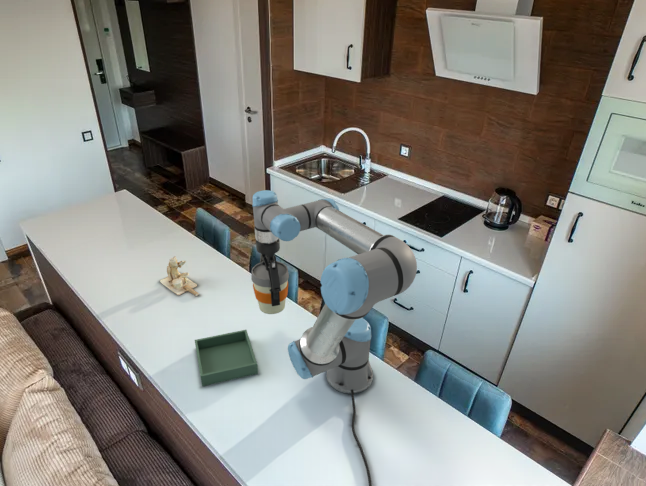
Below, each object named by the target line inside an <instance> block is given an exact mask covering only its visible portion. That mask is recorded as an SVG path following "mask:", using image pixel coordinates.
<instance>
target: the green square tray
mask: <svg viewBox="0 0 646 486" xmlns="http://www.w3.org/2000/svg"><path fill="white" fill-rule="evenodd" d="M251 343H252V342H251V339H250V336H249V333H248V330H247V329H243V330H242V329H241V330H237V331H232V332H227V333H223V334H217V335H211V336H207V337H201V338H198V339H194V345H195V352H196V358H197V364H198V371H199V377H200V382H201V387H206V386H211V385H214V384H220V383H223V382H228V381H232V380H237V379H242V378H246V377H250V376H255V375H258V374H259V370H258V369H259V368H258V362H257V359H256V355H255V352H254V349H253V346H252V344H251Z"/></svg>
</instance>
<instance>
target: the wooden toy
mask: <svg viewBox="0 0 646 486" xmlns="http://www.w3.org/2000/svg"><path fill="white" fill-rule="evenodd" d="M186 263H187V261H186V260H180V261H179V262H178V259H177V256H175V255H174V256H172V257H170V258H169V261H168V264H167V266H166V273H167V276H166V277H164V278H162V279H160V280H159V283H161V284H162V285H163V286H164V287H166V288H168V289H169V290H170V292H172V293H174V294H175V295H176V296H181V295H183V294H184V293H186V292H188V293H191V294H192V295H193V296H194V297H198V296H199V295H200V293H199V292H198V291H197V290H195V289H194V288H197V287H198V285H197V283H196V282H194V281H192V280H191V279H190V278H188V277H189V275H190V273H189V272H182V273H181V272H179V268H180V269H181V268H182V267H183V266H184V265H185V264H186Z"/></svg>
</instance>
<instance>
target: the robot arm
mask: <svg viewBox="0 0 646 486" xmlns="http://www.w3.org/2000/svg"><path fill="white" fill-rule="evenodd" d="M278 203H279V200H278V195H277V193H276V192H275V191H273V190H269V189H266V190H265V189H264V190H258V191H256V192H254V193H253V195H252V212H253V213H252V214H253V220H254V221H253V222H254V223H253V224H254V238H255V249H256V251H257V253H259V254H260V255H259V257H260V258H259V263H261V262H263V265H264V264H265V266H266V270H267V271H268V274H269V279H270V284H271V289H270V290H269V291H270V292H271V304H272V306H278V305H280V295H279V291H281V288H280V281H279V274H278V267H277V261H278V260H277V257H276V255H275V254H276V253H278V252H279V251H280V249H281V243H280V240H281V241H283V242H291V241H293V240H294V239H296V238H297V237H298V236H299V234H300V232H303V231H307V230H311V229H314V228H316V229H318V230H320V231H321V232H323V233H324V234H326V235H328V236H329V237H331V238H332V239H334V240H336V241H337V242H338V243H340V244H342V246H345V247H346V248H348V249H349V250H351V251H352V252H354V253H355V254H354V255H352V256H349V257H342V258H340V259H337V260H336V261H334V262H331V263H329V264H328V265H326V267H324V269H323V271H322V273H321V276H320V284H321V286H320V293H321V297H322V299H323V302H324V305H323V307H321V308H322V309H321V310H320V312H319V314H318V316H317V318H316V320H315V321H314V323H313V325H312V326H310V327H309V328H307V329H306V330H305V331H304V332H303V333H302V335H301V337H300V338H298V339H297V340H293V341H291V342H290V343H288V345H287V353H288V357H289V360H290V362H291V364H292V367H293V369H294V370H295V372H296V373H297V375H298V376H299V378H301V379H302V380H308V379H310V378H314V377H316V376H318V375H321V374H322V373H325V372H326V381H327V383H328V384H329V386H330V387H331V388H332V389H334V390H336V391H337V392H340V393H343V394H348V395H351V403H352V417H351V432H352V435H353V438H354V441H355V442H356V445H357V448H358V449H359V453H360V455H361V458H362V461H363V464H364V467H365V471H366V475H367V481H368V486H373V483H372V476H371V472H370V467H369V464H368V461H367V458H366V456H365V452H364V450H363V447H362V445H361V443H360V441H359V439H358V437H357V433H356V430H355V422H356V412H357V410H356V409H357V408H356V402H355V395H356V394H360V393H362V392H365V391H366V390H368V389H369V388H370V387H371V385H372V383H373V381H374V378H373V377H374V372H373V369H372V366H371V363H370V349H371V341H372V327H371V324H370V323H369V322H368V321H367V320H366V319H365V318H364V317H366V316H367V315H368V314H369V313H370V312H371V310H372V309H373V307H374V306H375V305H377V303H380V302H381V301H384V300H387V299H389V298H392V297H395V296H398V295H400V294H402V293H404V292H405V291H407V290H408V289H409V288H410V287H411V286H412V284H413V282H414V281H415V278H416V276H417V270H418V264H417V259H416V256H415V254H414V252H413V250H412V248H410V246H409V245H408V244H407V243H406V242H404V241H403V240H401V239H400V238H398V237H396V236H394V235H393V234H382V233H380V232H379V231H377V230H375V229H373V228H372V227H370V226H368V225H367V224H364V223H362V222H360V221H359V220H357V219H355V218H353V217H352V216H350V215H348V214H346V213H345V212H343V211H340V207H339V204H338V203H336V200H335V199H333V198H328V197H327V198H321V199H318V200H315V201H310V202H307V203H303V204H298V205H294V206H290V207H286V208H283V207H282V206H281V205H279V204H278ZM268 267H269V268H268Z"/></svg>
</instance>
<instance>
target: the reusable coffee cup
mask: <svg viewBox="0 0 646 486" xmlns="http://www.w3.org/2000/svg"><path fill="white" fill-rule="evenodd" d="M276 261H277V267H278V274H279V281H280V288H281V291H279V295H280V305H278V306H272V304H271V292H270V291H269V290H270V289H271V284H270V279H269V274H268V271H267V270H266V266H265V264H264V265H263V262H261V263H260V262H258V263H256V264H255V265H254V266H253V267H252V268H251V282H252V289H253V293H254V296H255V299H256V300H257V304H258V307H259V311H261V313H263V314H267V315H277V314H280V313H281V312H283V311H284V309H285V308H286V302H287V301H286V300H287V297H288V293H289V281H288V280H289V279H290V275H289V267H288V266H287V265H286V264H285V263H284V262H281V261H278V260H276ZM268 268H269V267H268Z"/></svg>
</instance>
